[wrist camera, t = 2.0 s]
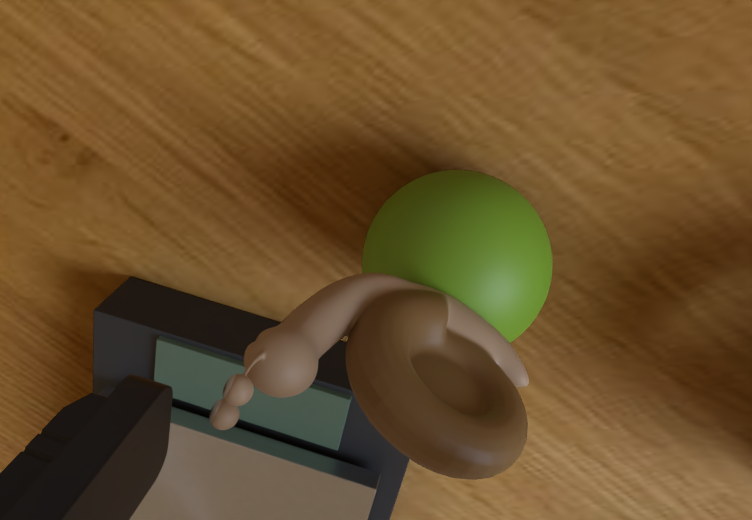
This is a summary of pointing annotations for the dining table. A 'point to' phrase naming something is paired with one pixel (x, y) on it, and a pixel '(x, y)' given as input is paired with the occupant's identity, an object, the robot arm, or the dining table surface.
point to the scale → (226, 358)
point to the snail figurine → (424, 325)
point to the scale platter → (250, 478)
